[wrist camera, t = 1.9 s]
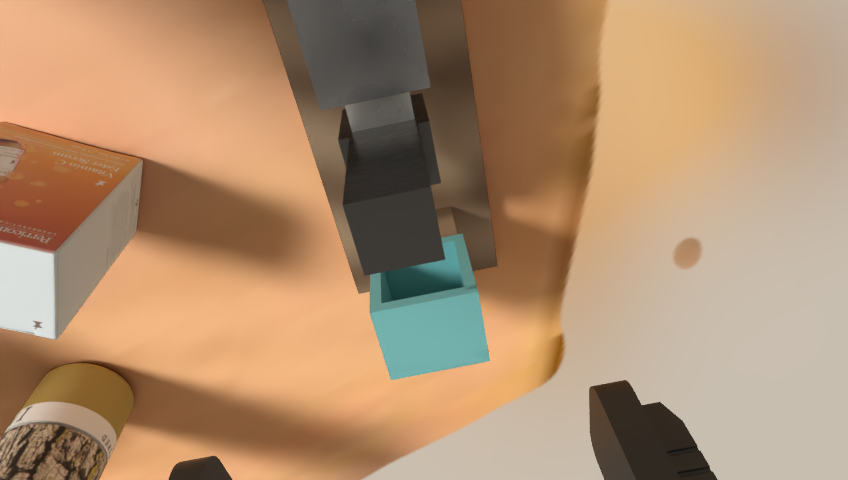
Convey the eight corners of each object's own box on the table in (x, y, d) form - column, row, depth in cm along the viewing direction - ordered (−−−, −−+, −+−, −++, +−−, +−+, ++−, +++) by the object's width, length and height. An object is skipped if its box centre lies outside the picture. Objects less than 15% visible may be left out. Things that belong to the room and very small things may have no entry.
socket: (370, 252, 32) (369, 313, 27) (462, 233, 31) (478, 291, 27) (388, 314, 34) (391, 380, 30) (473, 297, 34) (489, 360, 29)
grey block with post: (245, -236, 19) (145, -345, 11) (354, -262, 19) (339, -392, 11) (371, 213, 29) (370, 338, 21) (442, 198, 29) (470, 318, 21)
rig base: (191, -238, 23) (145, -274, 18) (418, -291, 23) (429, -341, 18) (359, 283, 39) (357, 336, 34) (494, 256, 38) (511, 305, 34)
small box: (146, 157, 32) (60, 253, 23) (138, 232, 35) (59, 344, 26) (-4, 117, 30) (-158, 205, 21) (0, 200, 33) (-136, 308, 24)
